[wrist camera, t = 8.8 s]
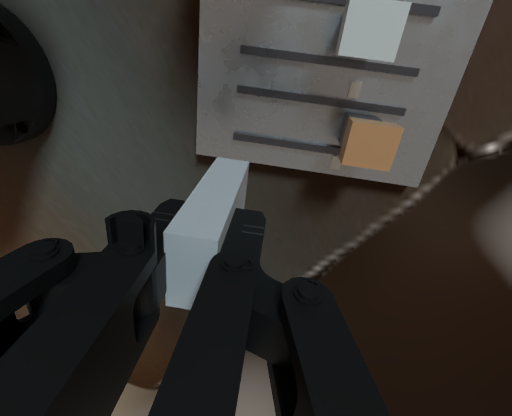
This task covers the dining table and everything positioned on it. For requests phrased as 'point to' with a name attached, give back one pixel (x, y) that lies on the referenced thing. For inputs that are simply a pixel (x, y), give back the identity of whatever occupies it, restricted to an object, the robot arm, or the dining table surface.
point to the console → (325, 82)
